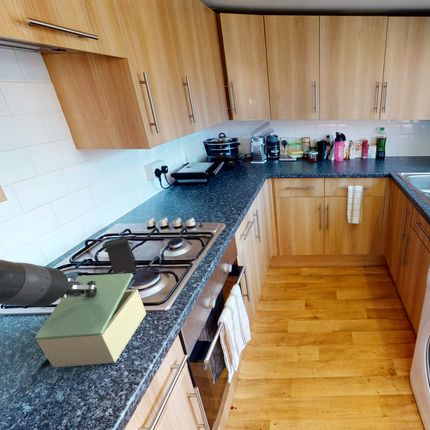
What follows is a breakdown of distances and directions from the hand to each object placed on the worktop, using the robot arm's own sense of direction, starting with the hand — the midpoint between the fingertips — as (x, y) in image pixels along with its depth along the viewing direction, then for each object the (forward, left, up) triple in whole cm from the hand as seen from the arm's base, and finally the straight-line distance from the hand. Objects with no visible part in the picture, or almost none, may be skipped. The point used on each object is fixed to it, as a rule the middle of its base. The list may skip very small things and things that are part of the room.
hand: (92, 292), depth 70 cm
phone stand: (-10, +28, -13) cm, 32 cm away
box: (0, -2, -13) cm, 13 cm away
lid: (0, -2, -2) cm, 3 cm away
